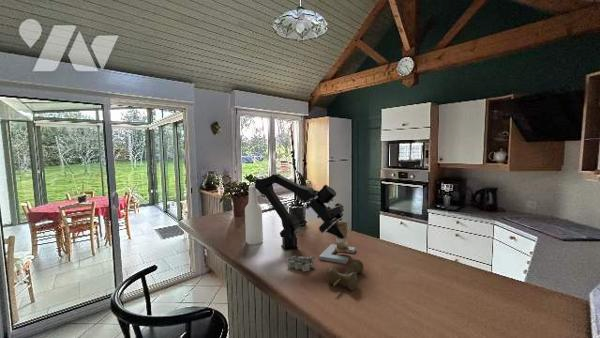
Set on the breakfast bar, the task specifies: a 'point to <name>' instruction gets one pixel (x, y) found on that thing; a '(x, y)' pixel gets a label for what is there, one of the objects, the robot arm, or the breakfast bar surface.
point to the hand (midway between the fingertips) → (344, 236)
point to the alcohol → (253, 219)
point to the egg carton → (296, 262)
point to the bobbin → (342, 242)
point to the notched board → (330, 256)
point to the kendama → (346, 275)
